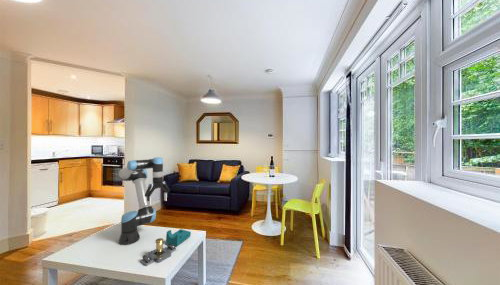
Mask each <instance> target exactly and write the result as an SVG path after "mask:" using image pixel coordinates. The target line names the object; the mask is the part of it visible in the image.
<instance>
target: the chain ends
mask: <svg viewBox="0 0 500 285" xmlns="http://www.w3.org/2000/svg"><path fill="white" fill-rule="evenodd" d="M176 251H177V247H176V246H174V245H171V244H167V245H166V247H164V248H163V254H161V255H159V256H157V255H156V248H155V249H153V250H151V251H148V252H147V255H146V254H144V255H142V258H141V260H140V263H141V264H142V265H144V266H145V267H147V266H149V265H151V264H154V262H156V263H158V264H159V263H161V262H163V261H165V260H167V259H169V258H170V257H172V253H174V252H176Z"/></svg>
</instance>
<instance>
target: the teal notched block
mask: <svg viewBox="0 0 500 285" xmlns="http://www.w3.org/2000/svg"><path fill="white" fill-rule="evenodd" d="M191 234H192V232H191V231H189V230H185V229H183V228H180V229H178V230H176V232H174V233H172V230H171V229H170V230H168V231H166V236H165V237H166V238H165V245H166V246H167V244H171V245H173V246H175V247H178V246H180V245H181V243H183V242H184V241H186V240H187V239H188V238H190V237H191Z"/></svg>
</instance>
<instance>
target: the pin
mask: <svg viewBox="0 0 500 285" xmlns="http://www.w3.org/2000/svg"><path fill="white" fill-rule="evenodd" d="M163 246H164V238H162V237H161V238H159V237H158V238H157V239H155V247H156V248H155V249H156V255H157V256H159V255H161V254H163Z"/></svg>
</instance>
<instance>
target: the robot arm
mask: <svg viewBox="0 0 500 285" xmlns="http://www.w3.org/2000/svg"><path fill="white" fill-rule="evenodd" d="M148 169H152V183H148V187H147V185H146V180H147V178H148V171H147V170H148ZM163 176H164V159H163V157H161V156H160V157H159V156H158V157H153V158H149V159H135V160H133V159H132V160H128V162H127V164H126V166H125V167H124V168H121V169H120V170H119V171H118V172H117V177H118V179H120V180H121V181H124V182H132V184H134V187H135V193H136V198H137V202H138V209H137V210H132V211H131V210H130V211H127V212H125V213H124V214H122V216H121V220H120V222H121V226H120V228H121V229H120V236H119V239H118V244H119V245H120V246H122V245H123V246H127V245H128V246H129V245H131V244H134V243H137V242H138V241H139V240H140V233H139V230H138V227H139V226H143V225H146V224H150V223H153V222H154V221H155V220H156V218H157V211H156V209H155V208H154V207H153V206H152V197H151V195H152V194H153V193H154V192H155V190H156V189H160V188H161V190H162V191H164V192H163V198H164V199H163V201H164V202H167V201H168V200H167V198H168V196H169V195H168V194H169V192H170V191H171V190H170V188H169V186H168V184H167V181H165V180H164V177H163ZM163 180H164V181H163Z"/></svg>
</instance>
